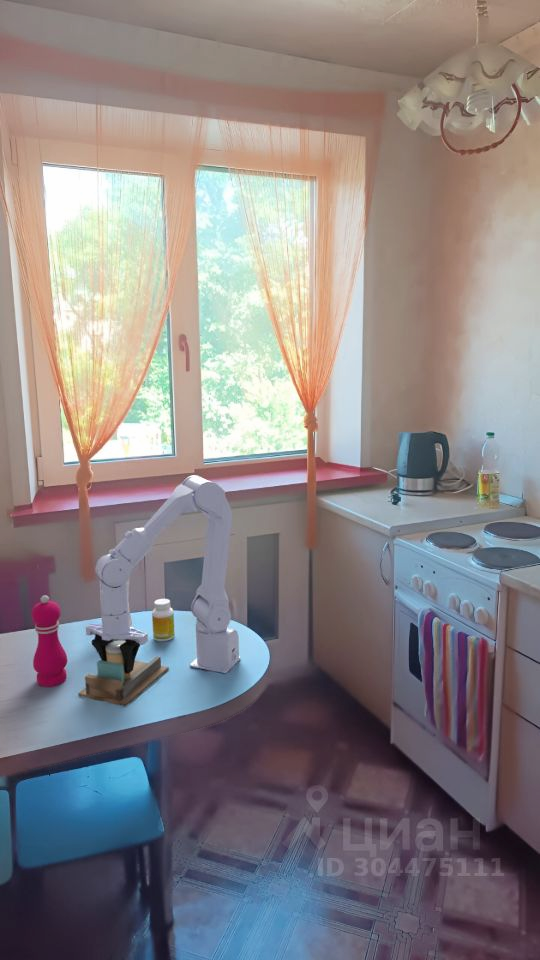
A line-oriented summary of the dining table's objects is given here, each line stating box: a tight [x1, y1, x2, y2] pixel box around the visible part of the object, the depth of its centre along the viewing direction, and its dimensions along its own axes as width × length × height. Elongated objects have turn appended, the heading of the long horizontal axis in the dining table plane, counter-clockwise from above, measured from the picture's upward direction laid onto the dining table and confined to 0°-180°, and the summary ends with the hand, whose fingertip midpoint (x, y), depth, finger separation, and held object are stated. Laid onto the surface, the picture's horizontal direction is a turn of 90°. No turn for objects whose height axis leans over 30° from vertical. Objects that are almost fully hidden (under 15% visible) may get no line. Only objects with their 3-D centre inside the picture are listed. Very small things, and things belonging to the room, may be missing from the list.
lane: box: [77, 655, 170, 707], centre depth 143 cm, size 12×17×4 cm
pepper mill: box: [31, 594, 68, 688], centre depth 143 cm, size 7×7×20 cm
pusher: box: [96, 659, 124, 683], centre depth 138 cm, size 6×1×6 cm, turn 68°
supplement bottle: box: [151, 598, 176, 642], centre depth 165 cm, size 5×5×10 cm
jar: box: [105, 640, 131, 682], centre depth 141 cm, size 5×5×8 cm
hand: (118, 669), depth 141 cm, fingers closed on jar, 5 cm apart
